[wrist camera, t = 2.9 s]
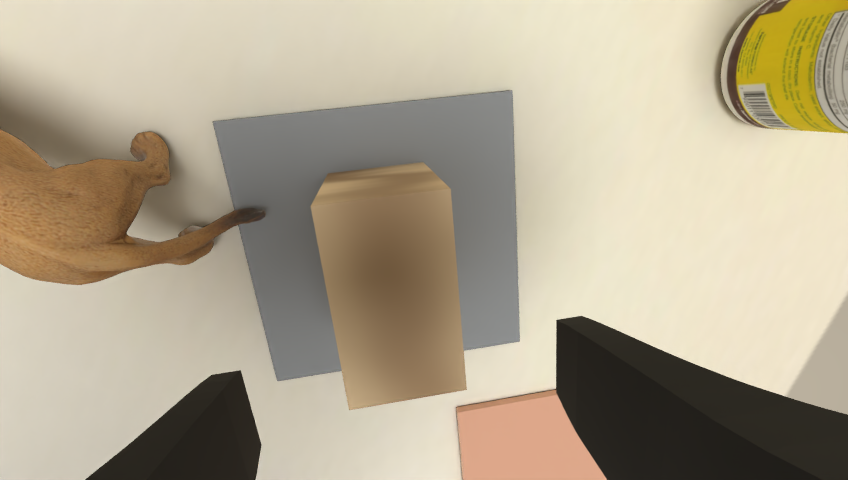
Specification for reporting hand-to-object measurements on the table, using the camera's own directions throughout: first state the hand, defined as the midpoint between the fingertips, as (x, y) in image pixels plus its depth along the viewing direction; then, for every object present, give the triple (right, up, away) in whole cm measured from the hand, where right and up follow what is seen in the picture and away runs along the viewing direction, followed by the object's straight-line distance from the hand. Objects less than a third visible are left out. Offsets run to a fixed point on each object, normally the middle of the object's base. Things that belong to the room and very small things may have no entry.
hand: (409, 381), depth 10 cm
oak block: (-1, +3, +9) cm, 10 cm away
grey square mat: (-1, +3, +9) cm, 10 cm away
